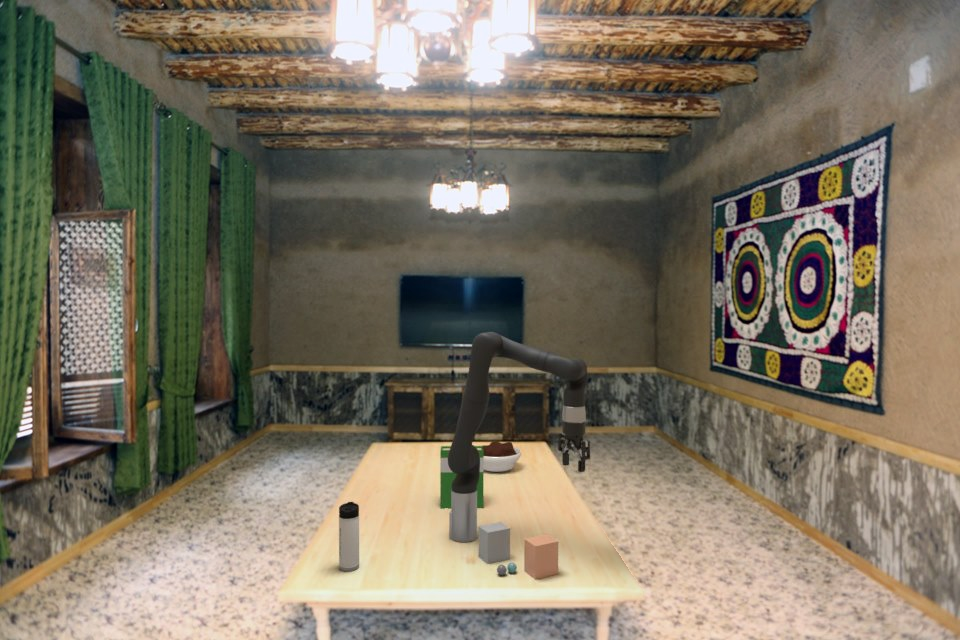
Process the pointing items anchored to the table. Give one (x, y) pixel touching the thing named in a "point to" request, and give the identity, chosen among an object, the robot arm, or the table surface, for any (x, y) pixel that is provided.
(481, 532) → the grey upright block
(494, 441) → the chocolate pudding bowl
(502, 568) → the marble charcoal
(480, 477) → the hardback book
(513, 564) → the marble teal
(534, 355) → the robot arm
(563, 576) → the table surface
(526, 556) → the terracotta clay block
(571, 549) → the table surface
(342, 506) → the travel mug
